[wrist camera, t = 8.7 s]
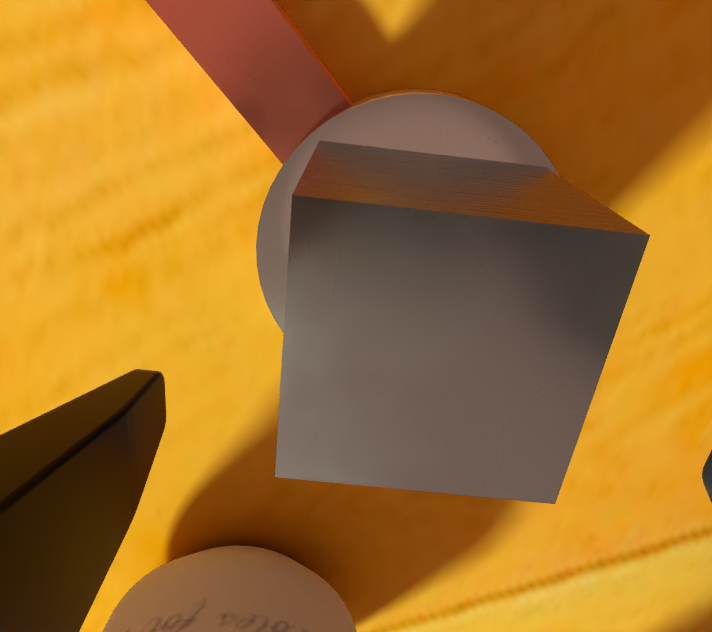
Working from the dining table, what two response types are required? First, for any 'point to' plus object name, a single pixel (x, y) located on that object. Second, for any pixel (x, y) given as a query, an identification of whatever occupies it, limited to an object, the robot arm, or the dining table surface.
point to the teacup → (231, 596)
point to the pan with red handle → (321, 111)
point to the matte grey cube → (445, 322)
